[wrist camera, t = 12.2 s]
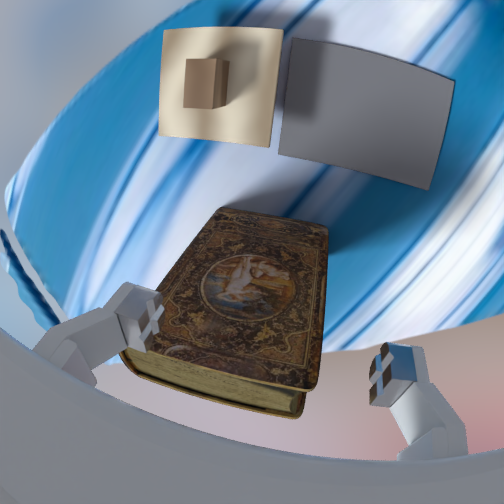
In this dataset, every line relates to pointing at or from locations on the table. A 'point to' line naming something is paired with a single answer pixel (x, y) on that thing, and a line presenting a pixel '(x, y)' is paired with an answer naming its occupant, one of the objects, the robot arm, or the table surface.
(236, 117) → the board
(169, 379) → the book
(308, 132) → the mat
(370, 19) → the table surface
